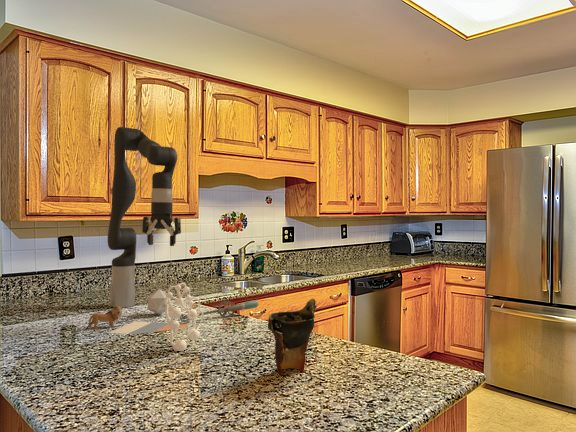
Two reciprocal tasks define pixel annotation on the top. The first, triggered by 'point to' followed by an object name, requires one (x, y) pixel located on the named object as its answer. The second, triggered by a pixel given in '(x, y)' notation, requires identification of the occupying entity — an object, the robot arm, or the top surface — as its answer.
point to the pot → (292, 336)
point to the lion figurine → (106, 317)
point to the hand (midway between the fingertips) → (161, 245)
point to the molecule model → (176, 313)
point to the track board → (141, 327)
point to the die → (157, 302)
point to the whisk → (228, 308)
